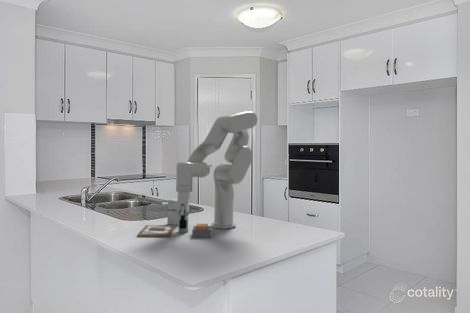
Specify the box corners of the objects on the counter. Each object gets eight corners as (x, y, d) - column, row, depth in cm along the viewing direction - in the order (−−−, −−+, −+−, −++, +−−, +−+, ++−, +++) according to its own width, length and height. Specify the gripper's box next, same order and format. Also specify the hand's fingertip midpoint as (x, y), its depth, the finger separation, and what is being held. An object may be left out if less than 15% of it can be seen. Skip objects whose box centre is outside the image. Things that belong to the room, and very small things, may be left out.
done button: (196, 229, 166) (196, 223, 166) (207, 229, 166) (207, 223, 166) (196, 232, 161) (196, 225, 161) (207, 232, 161) (207, 226, 161)
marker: (179, 230, 172) (179, 209, 172) (188, 230, 172) (188, 209, 172) (178, 232, 168) (178, 211, 167) (187, 233, 168) (188, 211, 168)
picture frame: (146, 227, 178) (146, 224, 178) (174, 227, 179) (175, 224, 179) (137, 236, 158) (137, 234, 158) (169, 237, 159) (169, 234, 159)
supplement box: (166, 224, 186) (167, 199, 186) (175, 221, 193) (176, 198, 192) (178, 225, 183) (179, 201, 182) (187, 223, 189) (187, 199, 189)
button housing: (193, 233, 167) (193, 225, 167) (210, 233, 168) (211, 226, 167) (192, 237, 159) (192, 229, 159) (210, 237, 160) (210, 230, 160)
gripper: (178, 186, 178) (177, 223, 178) (173, 190, 161) (173, 231, 161) (193, 186, 178) (192, 223, 179) (190, 190, 161) (189, 231, 162)
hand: (183, 226), depth 170 cm, fingers closed on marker, 4 cm apart
